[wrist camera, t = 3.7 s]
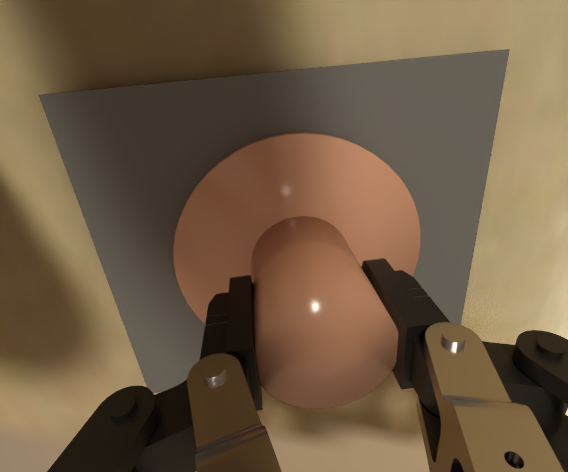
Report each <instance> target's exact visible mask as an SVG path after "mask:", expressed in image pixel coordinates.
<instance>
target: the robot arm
mask: <svg viewBox="0 0 568 472" xmlns="http://www.w3.org/2000/svg"><path fill="white" fill-rule="evenodd" d="M362 269H363V271H364V272H365V274H366V276H367V278H368V279H369V281H370V283H371V284H372V286H373V288H374V290H375V291H376V293H377V295H378V296H379V298H380V300H381V301H382V303H383V305H384V307H385V308H386V310H387V312H388V313H389V315H390V317H391V319H392V320H393V322H394V324H395V325H396V328H397V330H398V346H397V359H396V364H395V366H394V368H393V369H392V371H393V373H394V375H395V377H396V379H397V381H398V383H399V385H400V387H401V389H407V388H414V389H415V391H416V393H417V394H418V398H417V411H418V415H419V420H420V425H421V430H422V435H423V440H424V445H425V449H426V454H427V459H428V464H429V469H430V472H568V416H567V415H565V413H566V411H567V408H568V340H567V339H565V338H563V337H561V336H559V335H556V334H553V333H550V332H545V331H537V330H532V331H526V332H523V333H521V334H520V335H519V336H518V338H517V341H516V344H515V345H510V344H500V343H490V342H484V341H481V339H480V338H479V336H478V335H477V334H476V333H474V332H473V331H472V330H470V329H468V328H467V327H464V326H462V325H459V324H455V323H451V322H450V321H449V320H448V319H447V317H446V316H445V315H444V314H443V312H442V311H441V310H440V309H439V307H438V306H437V305H436V304H435V303H434V301H433V300H432V299H431V298H430V296H428V294H427V293H426V291H425V290H424V289H423V288H422V287H421V285H420V284H419V283H418V282H417V280H416V279H415V278H414V277H413V276H411V275H409V274H408V273H406V272H404V271H403V270H398V271H394V269H393V268H392V267H391V265H390V264H389V263H388V261H387V260H386V259H385V258H381V259H373V260H365V261H363V262H362ZM257 410H263V409H262V389H261V383H260V382H259V376H258V370H257V364H256V358H255V346H254V316H253V286H252V278H251V275H246V276H238V277H230V281H229V292H227V293H219V294H216V295H215V296H214V297H213V299H212V300H211V301H210V303H209V304H208V310H207V317H206V322H205V329H204V335H203V342H202V348H201V354H200V360H199V361H198V362H197V363H196V364H195V365H194V366H193V367H192V368H191V370H190V371H189V374H188V376H187V379H186V380H185V381H184V382H182V383H181V384H179V385H177V386H175V387H173V388H170V389H168V390H166V391H163V392H161V393H158V394H156V395H154V394H153V392H152V391H151V390H150V389H149V388H147V387H144V386H130V387H126V388H123V389H121V390H119V391H117V392H115V393H113V394H112V395H110V396H109V397H108V398H106V399H105V400H104V401H103V402H102V403H101V404H100V406H99V407H98V408H97V409H96V411H95V412H94V413H93V414H92V416H91V417H90V418H89V419H88V421H87V422H86V423H85V425H84V426H83V427H82V428H81V430H80V431H79V432H78V433H77V435H76V436H75V437H74V438H73V440H72V441H71V442H70V444H69V445H68V446H67V447H66V449H65V450H64V451H63V452H62V454H61V455H60V456H59V457H58V459H57V460H56V461H55V463H54V464H53V465H52V466H51V468H50V469H49V470H48V471H47V472H196V471H197V472H281V469H280V466H279V464H278V461H277V458H276V455H275V452H274V449H273V446H272V444H271V441H270V438H269V435H268V433H267V430H266V428H265V426H262V424H261V422H260V419H259V416H258V413H257Z"/></svg>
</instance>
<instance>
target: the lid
mask: <svg viewBox="0 0 568 472" xmlns="http://www.w3.org/2000/svg"><path fill="white" fill-rule="evenodd" d="M419 250H420V224H419V217H418V214H417V210H416V207H415V203H414V201H413V199H412V197H411V195H410V193H409V191H408V189H407V187H406V186H405V184H404V183H403V181H402V180H401V179H400V177H399V176H398V175H397V174H396V173H395V172H394V171H393V170H392V169H391V167H390V166H389V165H387V164H386V163H385V162H383V161H382V160H381V159H380V158H378V157H377V156H376V155H374V154H373V153H371V152H370V151H368V150H366V149H365V148H363V147H361V146H359V145H358V144H356V143H354V142H351V141H349V140H346V139H343V138H341V137H338V136H333V135H329V134H325V133H317V132H305V131H304V132H286V133H281V134H275V135H270V136H267V137H264V138H261V139H258V140H255V141H252V142H250V143H248V144H246V145H244V146H241V147H239V148H237V149H235V150H234V151H233V152H231V153H230V154H228V155H227V156H225V157H224V158H222V159H221V160H220V161H218V162H217V163H216V164H215V165H214V166H213V167H212V168H211V169H209V170H208V172H207V173H206V174H205V175H204V176H203V177H202V179H201V180H200V181H199V182H198V183H197V185H196V187H195V188H194V190H193V191H192V193H191V195H190V196H189V198H188V200H187V202H186V205H185V207H184V209H183V212H182V214H181V216H180V218H179V222H178V225H177V229H176V233H175V239H174V248H173V255H174V268H175V273H176V278H177V281H178V284H179V286H180V289H181V292H182V294H183V296H184V297H185V299H186V301H187V303H188V305H189V306H190V307H191V309H192V310H193V311H194V313H195V314H196V315H197V316H198V318H199V319H200V320H201V321H202V322H203V323H204V324H205V322H206V317H207V310H208V304H209V303H210V301H211V300H212V299H213V297H214V296H215V295H216V294H219V293H227V292H229V281H230V277H238V276H246V275H251V278H252V286H253V316H254V346H255V358H256V364H257V370H258V376H259V382H260V383H261V385H262V386H263V388H264V389H265V390H266V391H267V392H268V393H269V394H271V395H272V396H273V397H275V398H276V399H278V400H280V401H282V402H284V403H287V404H289V405H293V406H296V407H302V408H311V409H321V408H331V407H336V406H340V405H344V404H347V403H350V402H352V401H355V400H357V399H359V398H361V397H363V396H365V395H366V394H368V393H370V392H371V391H373V390H374V389H375V388H376V387H378V386H379V385H380V384H381V383H382V382H383V381H384V380H385V379H386V378H387V376H388V375H389V374H390V372H391V371H392V369H393V368H394V366H395V364H396V359H397V346H398V330H397V328H396V325H395V324H394V322H393V320H392V319H391V317H390V315H389V313H388V312H387V310H386V308H385V307H384V305H383V303H382V301H381V300H380V298H379V296H378V295H377V293H376V291H375V290H374V288H373V286H372V284H371V283H370V281H369V279H368V278H367V276H366V274H365V272H364V271H363V269H362V262H363V261H365V260H373V259H381V258H385V259H386V260H387V261H388V263H389V264H390V265H391V267H392V268H393V269H394V271H398V270H403V271H404V272H406V273H408V274H409V275H411V276H413V274H414V271H415V268H416V265H417V261H418V257H419Z"/></svg>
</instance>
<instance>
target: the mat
mask: <svg viewBox="0 0 568 472" xmlns="http://www.w3.org/2000/svg"><path fill="white" fill-rule="evenodd" d="M509 50H510V49H507V50H495V51H485V52H474V53H464V54H454V55H444V56H433V57H423V58H413V59H402V60H392V61H382V62H372V63H361V64H351V65H341V66H330V67H320V68H310V69H300V70H289V71H279V72H269V73H258V74H248V75H238V76H228V77H217V78H207V79H197V80H187V81H176V82H166V83H156V84H145V85H135V86H125V87H115V88H104V89H94V90H84V91H73V92H63V93H53V94H44V95H39V97H40V100H41V103H42V105H43V108H44V111H45V113H46V116H47V119H48V121H49V124H50V127H51V129H52V132H53V135H54V138H55V140H56V143H57V146H58V148H59V151H60V154H61V156H62V159H63V162H64V164H65V167H66V170H67V173H68V175H69V178H70V181H71V183H72V186H73V189H74V191H75V194H76V197H77V199H78V202H79V205H80V208H81V210H82V213H83V216H84V218H85V221H86V224H87V226H88V229H89V232H90V234H91V237H92V240H93V242H94V245H95V248H96V251H97V253H98V256H99V259H100V261H101V264H102V267H103V269H104V272H105V275H106V277H107V280H108V283H109V286H110V288H111V291H112V294H113V296H114V299H115V302H116V304H117V307H118V310H119V312H120V315H121V318H122V321H123V323H124V326H125V329H126V331H127V334H128V337H129V339H130V342H131V345H132V347H133V350H134V353H135V355H136V358H137V361H138V364H139V366H140V369H141V372H142V374H143V377H144V380H145V382H146V385H147V388H149V389H150V390H151V391H152V392H153V393H157V392H163V391H166V390H168V389H170V388H173V387H175V386H177V385H179V384H181V383H182V382H184V381H185V380H186V379H187V376H188V374H189V371H190V370H191V368H192V367H193V366H194V365H195V364H196V363H197V362H198V361H199V360H200V354H201V348H202V342H203V335H204V329H205V324H204V323H203V322H202V321H201V320H200V319H199V318H198V316H197V315H196V314H195V313H194V311H193V310H192V309H191V307H190V306H189V305H188V303H187V301H186V299H185V297H184V296H183V294H182V292H181V289H180V286H179V284H178V281H177V278H176V273H175V268H174V255H173V248H174V239H175V233H176V229H177V225H178V222H179V218H180V216H181V214H182V212H183V209H184V207H185V205H186V202H187V200H188V198H189V196H190V195H191V193H192V191H193V190H194V188H195V187H196V185H197V183H198V182H199V181H200V180H201V179H202V177H203V176H204V175H205V174H206V173H207V172H208V170H209V169H211V168H212V167H213V166H214V165H215V164H216V163H217V162H218V161H220V160H221V159H222V158H224V157H225V156H227V155H228V154H230V153H231V152H233V151H234V150H235V149H237V148H239V147H241V146H244V145H246V144H248V143H250V142H252V141H255V140H258V139H261V138H264V137H267V136H270V135H275V134H281V133H286V132H304V131H305V132H317V133H325V134H329V135H333V136H338V137H341V138H343V139H346V140H349V141H351V142H354V143H356V144H358V145H359V146H361V147H363V148H365V149H366V150H368V151H370V152H371V153H373V154H374V155H376V156H377V157H378V158H380V159H381V160H382V161H383V162H385V163H386V164H387V165H389V166H390V167H391V169H392V170H393V171H394V172H395V173H396V174H397V175H398V176H399V177H400V179H401V180H402V181H403V183H404V184H405V186H406V187H407V189H408V191H409V193H410V195H411V197H412V199H413V201H414V203H415V207H416V210H417V214H418V217H419V224H420V250H419V257H418V261H417V265H416V268H415V271H414V274H413V277H414V278H415V279H416V280H417V282H418V283H419V284H420V285H421V287H422V288H423V289H424V290H425V291H426V293H427V294H428V296H430V298H431V299H432V300H433V301H434V303H435V304H436V305H437V306H438V307H439V309H440V310H441V311H442V312H443V314H444V315H445V316H446V317H447V319H448V320H449V321H450V322H451V323H455V324H459V325H461V319H462V314H463V308H464V303H465V297H466V291H467V286H468V280H469V274H470V269H471V263H472V258H473V252H474V246H475V241H476V235H477V229H478V224H479V218H480V213H481V207H482V201H483V196H484V190H485V184H486V179H487V173H488V168H489V162H490V156H491V151H492V145H493V139H494V134H495V128H496V123H497V117H498V111H499V106H500V100H501V95H502V89H503V83H504V78H505V72H506V66H507V61H508V55H509Z"/></svg>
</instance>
